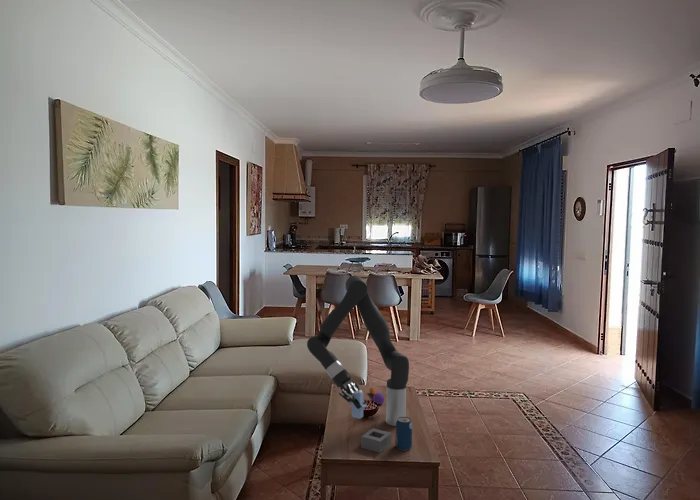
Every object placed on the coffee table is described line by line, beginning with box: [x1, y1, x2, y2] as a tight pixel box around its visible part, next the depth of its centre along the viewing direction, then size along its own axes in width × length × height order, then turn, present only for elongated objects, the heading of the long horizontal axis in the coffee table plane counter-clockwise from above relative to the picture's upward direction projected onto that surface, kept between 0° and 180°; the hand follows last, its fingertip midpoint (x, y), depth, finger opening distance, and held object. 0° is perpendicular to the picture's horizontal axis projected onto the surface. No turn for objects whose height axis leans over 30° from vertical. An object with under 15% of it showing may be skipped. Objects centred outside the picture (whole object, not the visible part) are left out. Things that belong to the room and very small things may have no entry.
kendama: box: [369, 386, 385, 405], centre depth 263 cm, size 6×6×20 cm
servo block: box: [348, 389, 368, 420], centre depth 212 cm, size 8×3×12 cm, turn 59°
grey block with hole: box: [360, 428, 392, 454], centre depth 206 cm, size 10×9×5 cm
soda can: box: [394, 416, 413, 451], centre depth 205 cm, size 7×7×12 cm
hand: (361, 406), depth 211 cm, fingers closed on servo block, 3 cm apart
